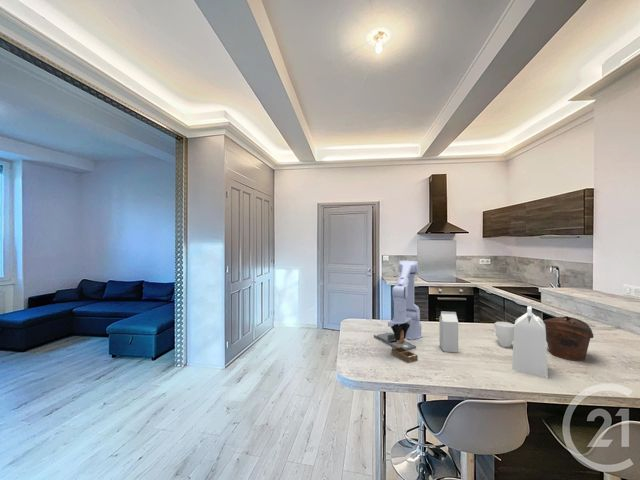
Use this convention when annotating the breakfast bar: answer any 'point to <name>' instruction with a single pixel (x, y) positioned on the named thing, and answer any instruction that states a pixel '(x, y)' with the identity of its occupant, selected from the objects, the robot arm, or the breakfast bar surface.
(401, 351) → the socket board
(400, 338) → the peg
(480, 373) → the breakfast bar surface
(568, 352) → the case
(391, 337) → the cover
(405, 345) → the pattern board
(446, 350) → the milk carton
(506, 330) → the mug
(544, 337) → the milk
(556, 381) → the breakfast bar surface
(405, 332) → the robot arm
